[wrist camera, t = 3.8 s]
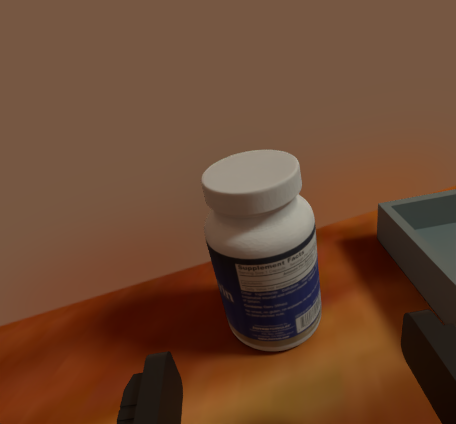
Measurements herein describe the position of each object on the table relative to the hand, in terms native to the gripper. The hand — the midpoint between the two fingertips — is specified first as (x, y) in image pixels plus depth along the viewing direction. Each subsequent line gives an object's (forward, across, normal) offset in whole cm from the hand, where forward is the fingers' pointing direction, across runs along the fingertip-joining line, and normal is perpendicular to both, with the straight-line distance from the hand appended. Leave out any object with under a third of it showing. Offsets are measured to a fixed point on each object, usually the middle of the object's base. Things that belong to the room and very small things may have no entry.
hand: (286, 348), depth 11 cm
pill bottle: (+7, 0, +6) cm, 9 cm away
